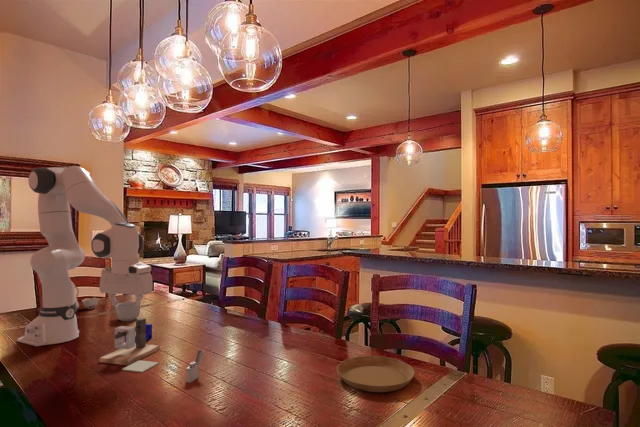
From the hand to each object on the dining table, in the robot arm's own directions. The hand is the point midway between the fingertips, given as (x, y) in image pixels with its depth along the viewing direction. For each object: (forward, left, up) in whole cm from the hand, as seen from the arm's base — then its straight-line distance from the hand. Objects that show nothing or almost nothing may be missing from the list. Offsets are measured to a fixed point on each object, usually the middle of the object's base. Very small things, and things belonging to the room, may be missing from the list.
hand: (125, 305), depth 134 cm
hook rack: (0, +3, -19) cm, 19 cm away
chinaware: (-78, +49, -19) cm, 94 cm away
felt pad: (+11, -5, -19) cm, 22 cm away
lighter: (+34, -8, -19) cm, 40 cm away
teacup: (-39, +44, -19) cm, 62 cm away
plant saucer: (+89, +6, -19) cm, 91 cm away
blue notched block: (-9, +16, -19) cm, 27 cm away
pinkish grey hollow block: (0, 0, -15) cm, 15 cm away
